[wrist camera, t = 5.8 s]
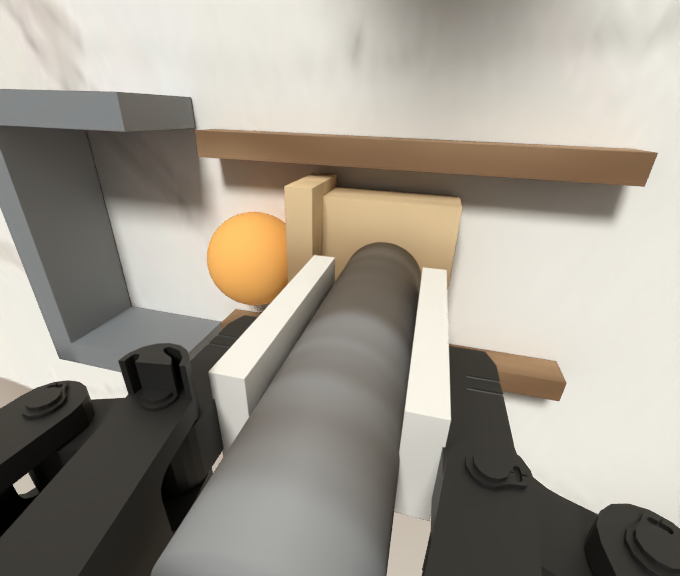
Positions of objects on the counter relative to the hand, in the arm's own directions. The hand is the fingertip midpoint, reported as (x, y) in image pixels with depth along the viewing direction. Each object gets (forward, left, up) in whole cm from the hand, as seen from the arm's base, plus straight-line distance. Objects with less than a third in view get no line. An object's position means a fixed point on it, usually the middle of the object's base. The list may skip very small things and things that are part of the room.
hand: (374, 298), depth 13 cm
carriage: (0, 0, -4) cm, 4 cm away
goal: (0, -12, -4) cm, 13 cm away
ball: (0, -6, -2) cm, 6 cm away
